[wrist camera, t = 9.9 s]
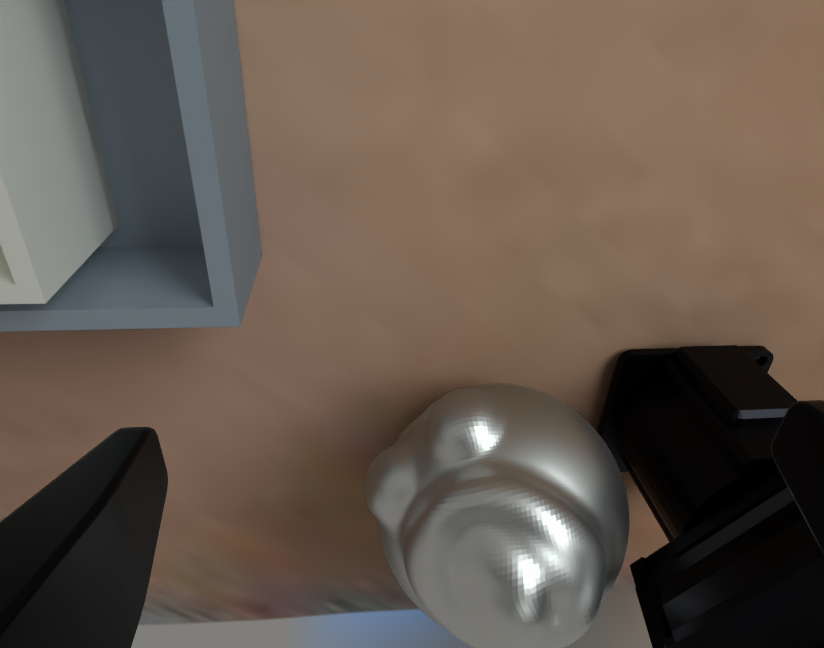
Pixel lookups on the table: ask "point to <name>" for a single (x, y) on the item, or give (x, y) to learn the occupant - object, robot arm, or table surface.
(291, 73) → the table surface
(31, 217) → the box
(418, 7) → the table surface
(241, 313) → the large crate
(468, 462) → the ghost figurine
